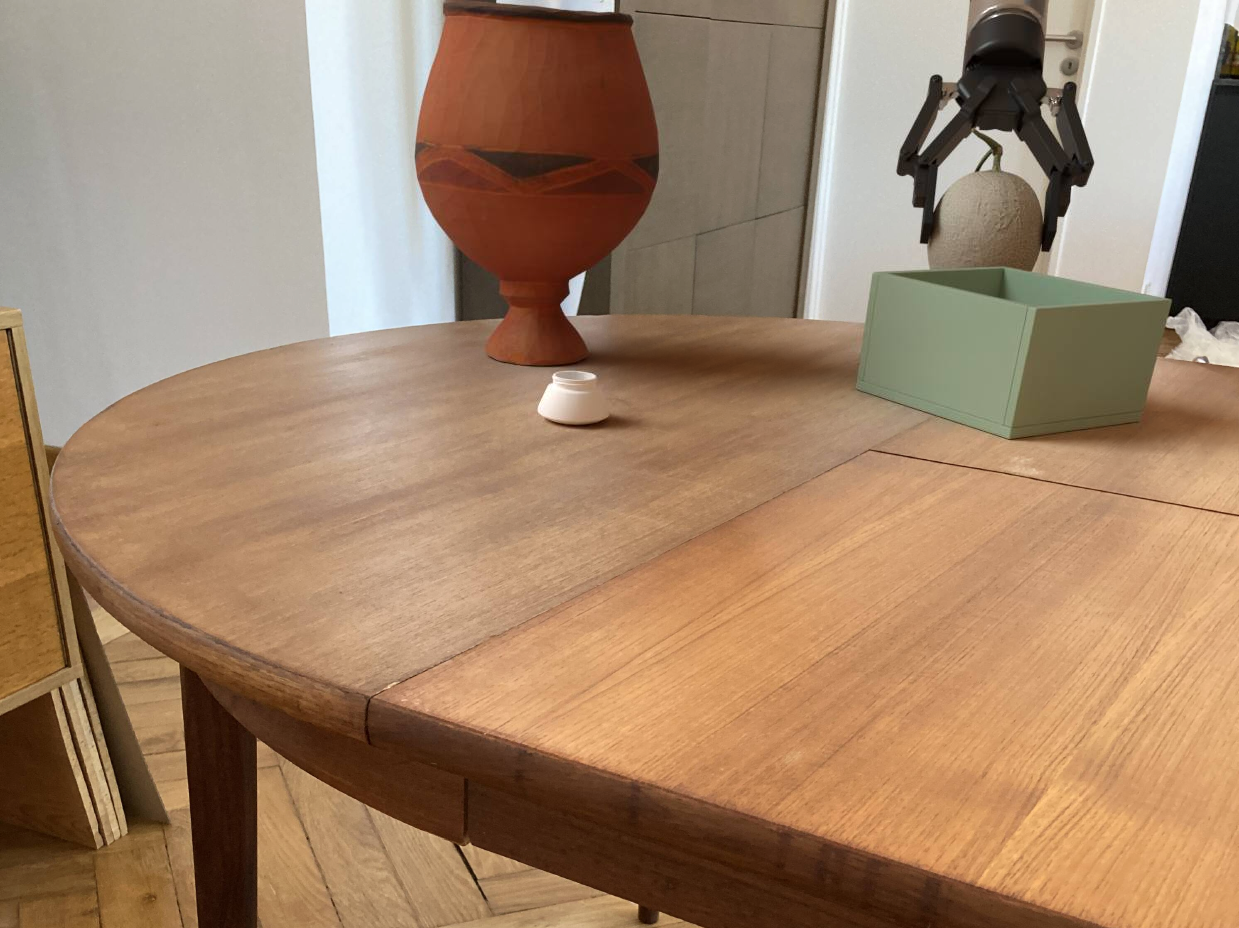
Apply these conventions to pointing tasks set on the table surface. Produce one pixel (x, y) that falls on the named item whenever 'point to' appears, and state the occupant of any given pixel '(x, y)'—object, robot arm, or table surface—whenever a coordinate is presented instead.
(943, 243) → the fruit
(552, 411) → the white jar
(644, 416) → the table surface
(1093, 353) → the bin
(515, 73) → the goblet
